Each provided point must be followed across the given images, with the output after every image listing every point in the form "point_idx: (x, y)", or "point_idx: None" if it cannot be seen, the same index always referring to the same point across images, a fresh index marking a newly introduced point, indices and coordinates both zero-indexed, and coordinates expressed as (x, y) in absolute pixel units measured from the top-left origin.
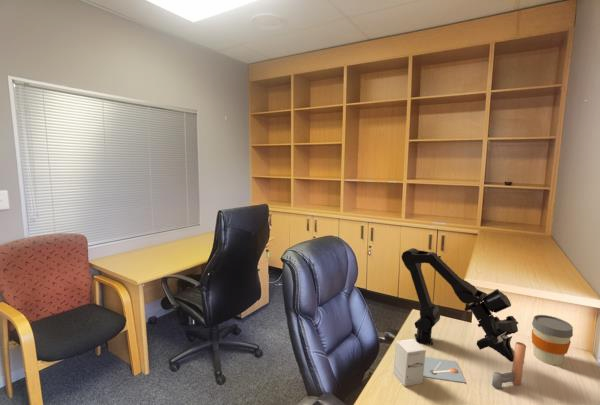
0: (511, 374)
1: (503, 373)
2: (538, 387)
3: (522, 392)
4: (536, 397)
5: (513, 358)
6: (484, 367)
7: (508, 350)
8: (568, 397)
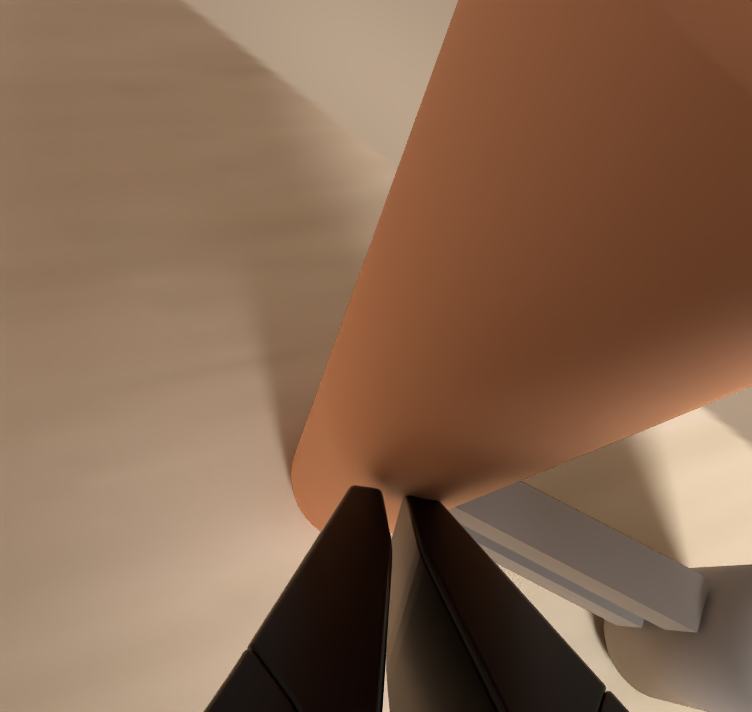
0: (537, 491)
1: (639, 600)
2: (204, 249)
3: None
4: None
5: (512, 483)
6: None
7: (520, 705)
8: (145, 4)
